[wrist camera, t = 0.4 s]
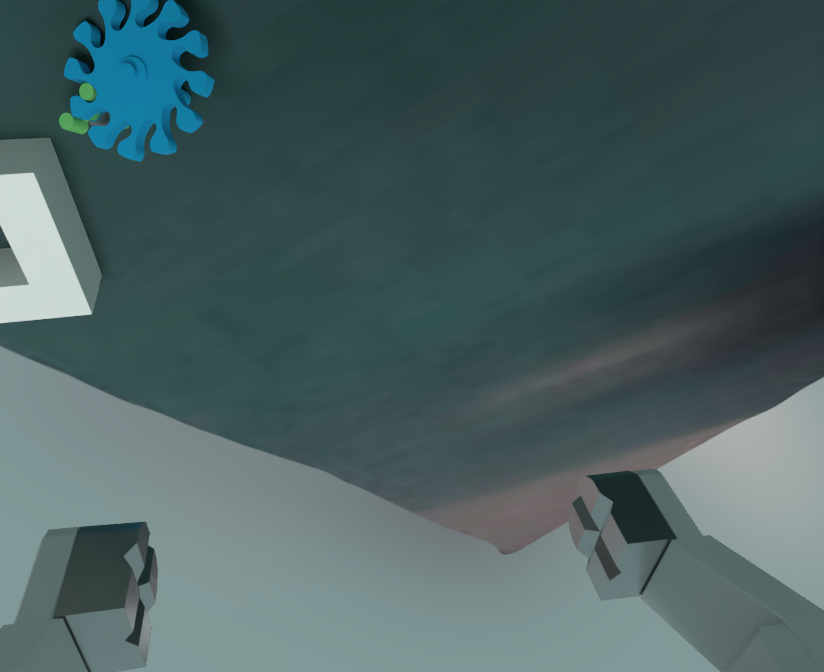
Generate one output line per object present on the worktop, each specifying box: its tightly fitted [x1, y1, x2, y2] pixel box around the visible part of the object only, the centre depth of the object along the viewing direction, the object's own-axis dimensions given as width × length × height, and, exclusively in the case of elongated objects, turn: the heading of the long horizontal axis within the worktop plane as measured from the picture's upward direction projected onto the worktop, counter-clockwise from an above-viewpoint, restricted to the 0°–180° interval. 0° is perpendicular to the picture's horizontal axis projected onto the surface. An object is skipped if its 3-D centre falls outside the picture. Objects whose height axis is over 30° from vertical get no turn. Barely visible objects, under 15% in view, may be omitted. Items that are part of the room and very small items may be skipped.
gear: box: [59, 0, 215, 162], centre depth 40 cm, size 11×6×10 cm
